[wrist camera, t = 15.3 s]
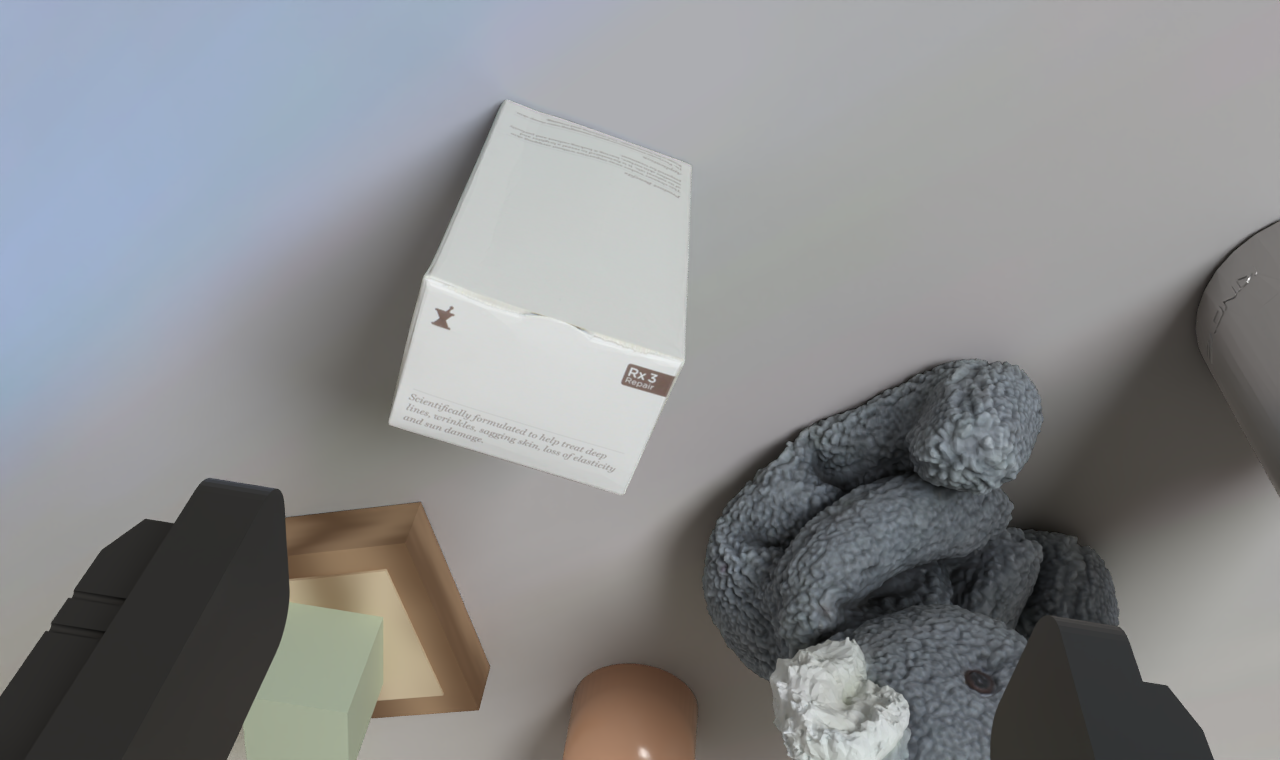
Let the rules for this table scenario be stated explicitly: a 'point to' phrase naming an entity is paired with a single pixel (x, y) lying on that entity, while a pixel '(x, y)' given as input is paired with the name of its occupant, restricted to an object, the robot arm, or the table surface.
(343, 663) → the sage block
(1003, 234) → the table surface
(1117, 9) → the table surface
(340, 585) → the walnut base
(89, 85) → the table surface
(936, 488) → the koala plush
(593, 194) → the skincare box
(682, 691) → the tan rounded block
